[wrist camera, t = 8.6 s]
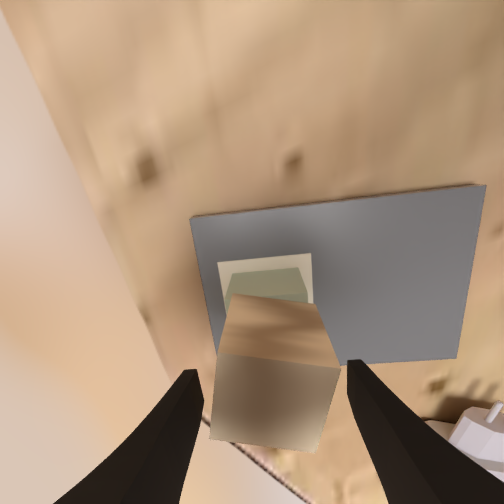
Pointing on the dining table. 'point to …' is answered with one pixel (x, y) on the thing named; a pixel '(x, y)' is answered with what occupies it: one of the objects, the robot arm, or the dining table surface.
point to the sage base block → (268, 285)
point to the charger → (478, 436)
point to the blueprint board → (358, 266)
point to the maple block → (273, 375)
